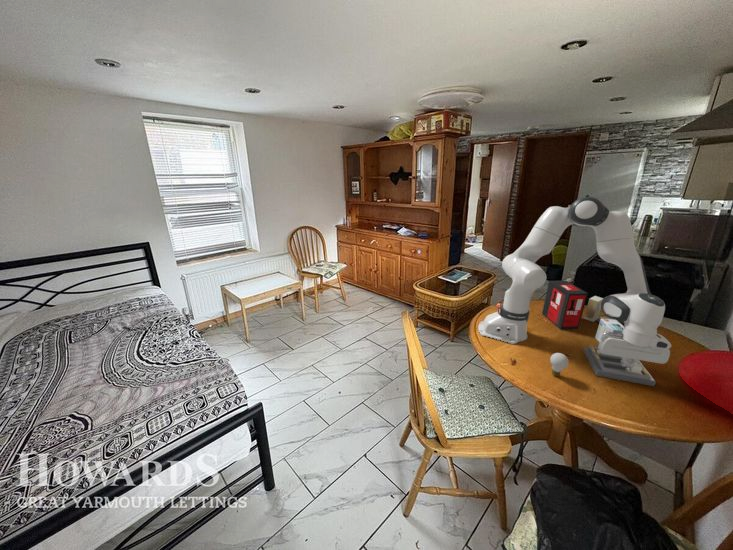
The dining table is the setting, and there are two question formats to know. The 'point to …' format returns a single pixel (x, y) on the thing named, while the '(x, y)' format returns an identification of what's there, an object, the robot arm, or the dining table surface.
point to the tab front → (635, 368)
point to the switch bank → (615, 368)
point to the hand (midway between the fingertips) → (626, 366)
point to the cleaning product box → (564, 304)
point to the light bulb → (558, 363)
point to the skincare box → (593, 308)
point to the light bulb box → (608, 327)
